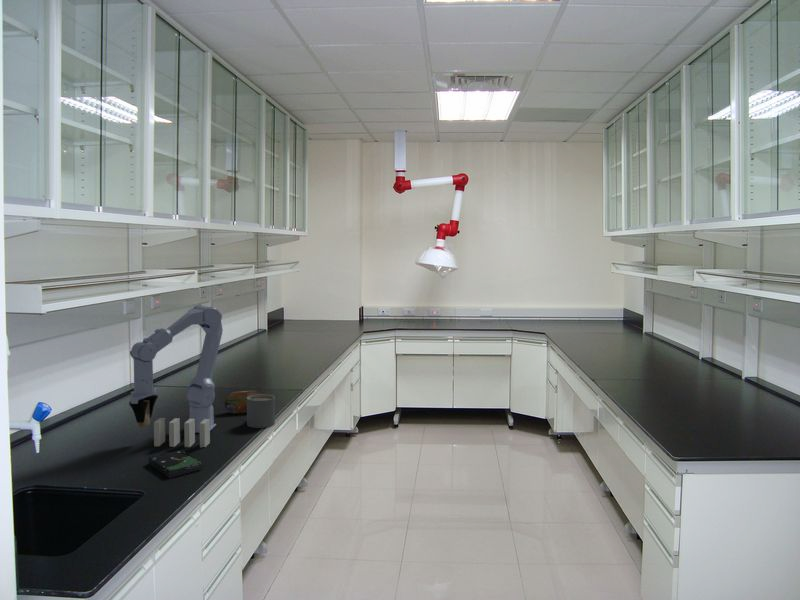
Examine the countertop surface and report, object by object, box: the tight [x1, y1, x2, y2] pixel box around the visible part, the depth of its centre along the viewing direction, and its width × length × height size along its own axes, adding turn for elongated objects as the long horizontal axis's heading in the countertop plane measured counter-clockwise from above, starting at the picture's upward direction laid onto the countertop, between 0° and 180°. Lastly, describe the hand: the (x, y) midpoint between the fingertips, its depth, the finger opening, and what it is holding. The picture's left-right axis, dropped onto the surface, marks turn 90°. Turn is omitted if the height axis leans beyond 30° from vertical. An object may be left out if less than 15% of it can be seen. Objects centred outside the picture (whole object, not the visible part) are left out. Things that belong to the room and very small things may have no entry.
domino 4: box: [199, 419, 211, 448], centre depth 201 cm, size 2×5×8 cm, turn 179°
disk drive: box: [148, 449, 204, 479], centre depth 181 cm, size 10×3×15 cm
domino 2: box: [168, 417, 181, 448], centre depth 201 cm, size 2×5×8 cm, turn 179°
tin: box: [223, 389, 262, 415], centre depth 241 cm, size 15×3×8 cm, turn 111°
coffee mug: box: [246, 393, 276, 429], centre depth 227 cm, size 13×10×10 cm
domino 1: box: [153, 417, 166, 447], centre depth 201 cm, size 2×5×8 cm, turn 179°
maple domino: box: [137, 400, 151, 429], centre depth 201 cm, size 2×5×8 cm, turn 179°
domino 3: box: [183, 418, 196, 448], centre depth 201 cm, size 2×5×8 cm, turn 179°
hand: (144, 419), depth 201 cm, fingers closed on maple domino, 5 cm apart
